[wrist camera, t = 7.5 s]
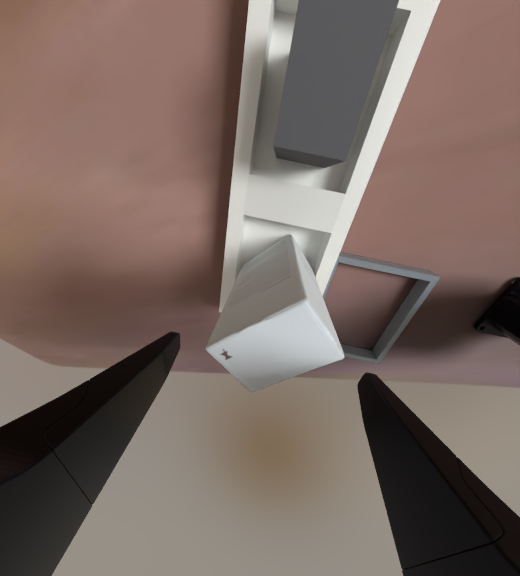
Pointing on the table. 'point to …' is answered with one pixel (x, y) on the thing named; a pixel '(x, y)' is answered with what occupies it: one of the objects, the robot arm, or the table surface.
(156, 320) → the table surface
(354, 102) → the dark gray rectangular block
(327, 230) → the divided desk organizer
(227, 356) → the skincare box
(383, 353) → the gray rectangular frame
